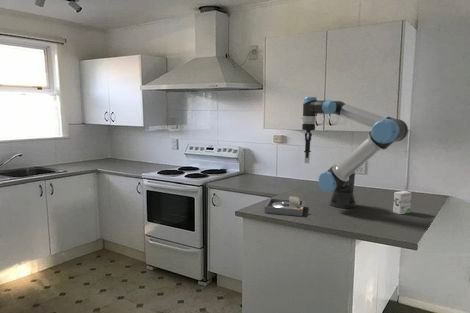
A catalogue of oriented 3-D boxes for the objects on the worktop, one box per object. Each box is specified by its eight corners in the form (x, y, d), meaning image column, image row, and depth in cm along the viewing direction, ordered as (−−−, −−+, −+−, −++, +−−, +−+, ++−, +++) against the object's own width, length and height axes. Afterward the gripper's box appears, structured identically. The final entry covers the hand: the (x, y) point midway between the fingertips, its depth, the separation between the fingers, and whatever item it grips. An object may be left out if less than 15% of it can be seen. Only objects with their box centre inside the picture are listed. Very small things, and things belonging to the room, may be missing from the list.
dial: (267, 207, 206) (267, 195, 205) (278, 202, 219) (278, 190, 218) (293, 212, 199) (294, 199, 198) (303, 206, 212) (303, 194, 211)
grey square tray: (304, 206, 217) (304, 200, 216) (301, 216, 197) (302, 209, 197) (269, 203, 221) (270, 197, 221) (264, 212, 202) (264, 206, 201)
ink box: (403, 210, 213) (404, 190, 212) (410, 212, 209) (412, 192, 207) (392, 212, 209) (394, 191, 208) (399, 214, 205) (401, 193, 203)
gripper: (303, 122, 226) (301, 161, 229) (301, 123, 213) (299, 164, 217) (315, 123, 224) (313, 161, 227) (315, 124, 212) (312, 165, 215)
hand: (306, 163), depth 222 cm, fingers closed
